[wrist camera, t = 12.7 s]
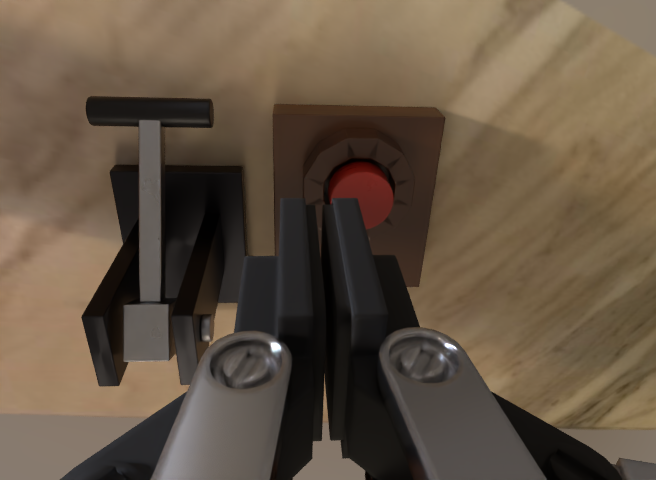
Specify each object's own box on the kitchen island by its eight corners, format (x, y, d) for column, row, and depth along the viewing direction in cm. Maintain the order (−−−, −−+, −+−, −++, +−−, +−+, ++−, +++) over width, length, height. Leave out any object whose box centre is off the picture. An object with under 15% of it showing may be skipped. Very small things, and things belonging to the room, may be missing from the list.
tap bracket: (114, 164, 32) (30, 264, 21) (243, 165, 32) (221, 264, 22) (138, 294, 37) (79, 426, 26) (249, 293, 37) (233, 422, 27)
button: (329, 160, 29) (331, 171, 27) (391, 161, 29) (397, 172, 27) (326, 216, 30) (328, 230, 29) (385, 216, 31) (390, 230, 29)
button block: (273, 103, 30) (271, 123, 27) (436, 107, 31) (454, 126, 28) (276, 270, 36) (274, 304, 33) (412, 269, 37) (425, 302, 34)
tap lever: (99, 102, 26) (80, 90, 24) (215, 105, 27) (207, 92, 24) (101, 351, 27) (82, 362, 24) (215, 349, 27) (208, 360, 25)
